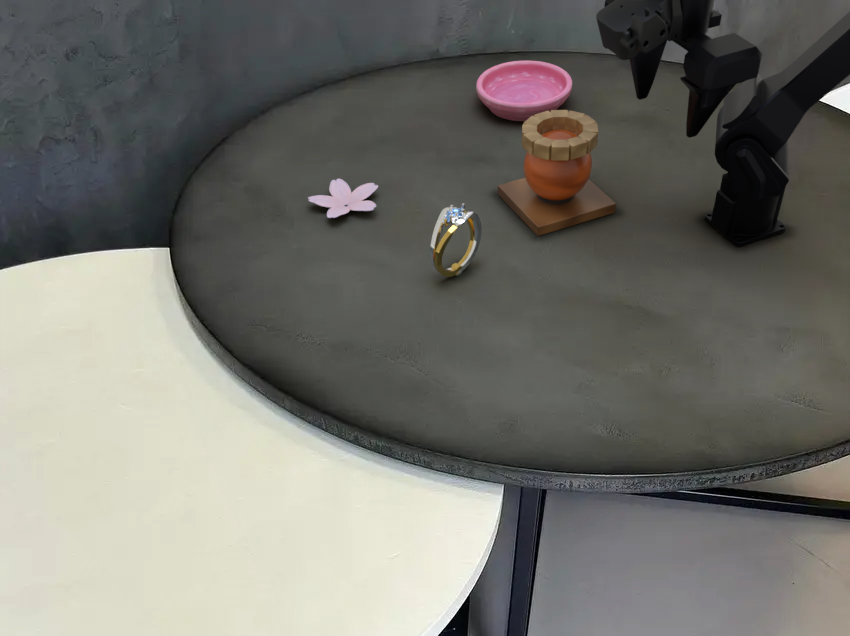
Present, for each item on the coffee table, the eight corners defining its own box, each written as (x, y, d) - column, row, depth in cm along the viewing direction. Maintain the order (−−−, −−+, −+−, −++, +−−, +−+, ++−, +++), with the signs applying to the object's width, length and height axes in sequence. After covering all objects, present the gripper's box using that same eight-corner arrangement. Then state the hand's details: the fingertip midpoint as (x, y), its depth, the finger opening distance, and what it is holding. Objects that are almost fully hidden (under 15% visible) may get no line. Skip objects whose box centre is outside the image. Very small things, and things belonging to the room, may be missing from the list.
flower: (360, 239, 112) (359, 227, 111) (288, 219, 116) (286, 208, 115) (402, 196, 118) (402, 184, 117) (332, 179, 121) (330, 167, 120)
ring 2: (571, 116, 113) (572, 103, 111) (611, 147, 107) (612, 134, 106) (508, 135, 111) (508, 121, 109) (545, 168, 106) (546, 154, 104)
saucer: (575, 125, 126) (577, 101, 124) (478, 130, 127) (478, 106, 125) (565, 80, 135) (567, 57, 132) (474, 85, 135) (474, 62, 133)
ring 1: (443, 293, 105) (441, 228, 99) (423, 281, 106) (419, 215, 100) (490, 265, 108) (490, 200, 102) (469, 253, 109) (468, 188, 103)
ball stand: (571, 172, 119) (576, 103, 113) (615, 212, 113) (623, 142, 106) (497, 194, 117) (498, 125, 110) (537, 236, 111) (541, 166, 104)
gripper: (563, -60, 95) (553, 98, 107) (673, 10, 83) (648, 178, 95) (662, -83, 97) (642, 74, 109) (782, -18, 86) (745, 149, 97)
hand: (666, 116), depth 103 cm, fingers open, 9 cm apart
